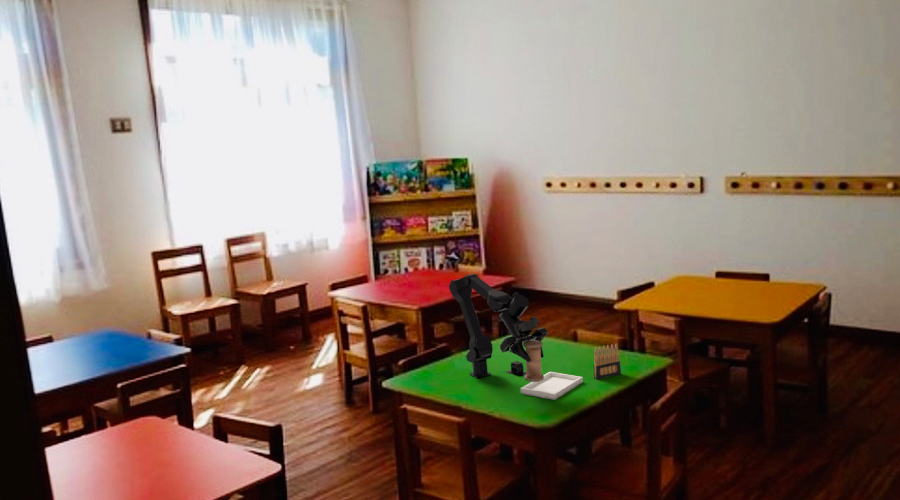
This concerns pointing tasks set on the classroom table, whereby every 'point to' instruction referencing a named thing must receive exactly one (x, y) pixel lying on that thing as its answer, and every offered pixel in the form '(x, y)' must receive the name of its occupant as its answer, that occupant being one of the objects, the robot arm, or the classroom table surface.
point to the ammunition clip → (606, 362)
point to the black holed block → (517, 369)
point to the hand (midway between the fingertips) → (536, 359)
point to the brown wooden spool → (533, 361)
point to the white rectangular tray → (552, 385)
